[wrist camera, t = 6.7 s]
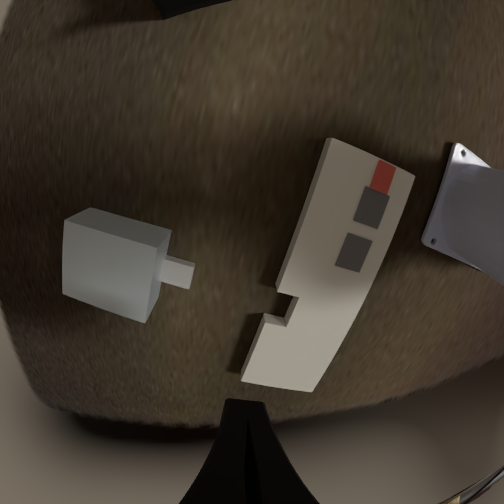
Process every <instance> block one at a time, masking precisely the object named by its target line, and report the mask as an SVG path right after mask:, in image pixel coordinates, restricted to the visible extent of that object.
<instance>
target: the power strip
mask: <svg viewBox="0 0 504 504" xmlns="http://www.w3.org/2000/svg"><path fill="white" fill-rule="evenodd" d="M414 179H415V176H414V175H413V174H411V173H409V172H407V171H405V170H403V169H401V168H399V167H397V166H395V165H393V164H391V163H389V162H387V161H385V160H383V159H380V158H378V157H376V156H374V155H372V154H370V153H367V152H365V151H363V150H361V149H358V148H356V147H354V146H351V145H349V144H347V143H344V142H342V141H339V140H337V139H334V138H326V141H325V144H324V147H323V150H322V153H321V156H320V159H319V162H318V165H317V168H316V171H315V174H314V177H313V180H312V183H311V186H310V188H309V191H308V194H307V197H306V200H305V203H304V206H303V209H302V211H301V214H300V217H299V220H298V223H297V226H296V228H295V231H294V234H293V237H292V239H291V242H290V245H289V248H288V250H287V253H286V256H285V259H284V261H283V264H282V267H281V269H280V272H279V275H278V277H277V280H276V283H275V284H276V289H277V292H280V293H284V294H288V295H292V296H293V298H292V300H291V303H290V305H289V308H288V310H287V312H286V315H285V317H279V316H275V315H271V314H267V313H264V314H263V317H262V319H261V322H260V324H259V327H258V330H257V332H256V335H255V337H254V340H253V342H252V345H251V347H250V350H249V352H248V355H247V357H246V360H245V362H244V365H243V367H242V369H241V381H243V382H249V383H254V384H260V385H265V386H271V387H278V388H284V389H291V390H299V391H306V392H312V391H313V390H314V388H315V387H316V385H317V383H318V382H319V380H320V379H321V377H322V375H323V374H324V372H325V370H326V369H327V367H328V365H329V364H330V362H331V360H332V359H333V357H334V355H335V354H336V352H337V350H338V348H339V347H340V345H341V343H342V341H343V339H344V338H345V336H346V334H347V332H348V330H349V329H350V327H351V325H352V323H353V321H354V319H355V317H356V315H357V313H358V311H359V309H360V308H361V306H362V304H363V302H364V300H365V298H366V295H367V293H368V291H369V289H370V287H371V285H372V283H373V281H374V279H375V277H376V274H377V272H378V270H379V268H380V266H381V263H382V261H383V259H384V257H385V254H386V252H387V250H388V247H389V245H390V243H391V240H392V238H393V235H394V233H395V230H396V228H397V225H398V223H399V220H400V218H401V215H402V212H403V210H404V207H405V204H406V202H407V199H408V196H409V193H410V190H411V187H412V185H413V182H414Z"/></svg>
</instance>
